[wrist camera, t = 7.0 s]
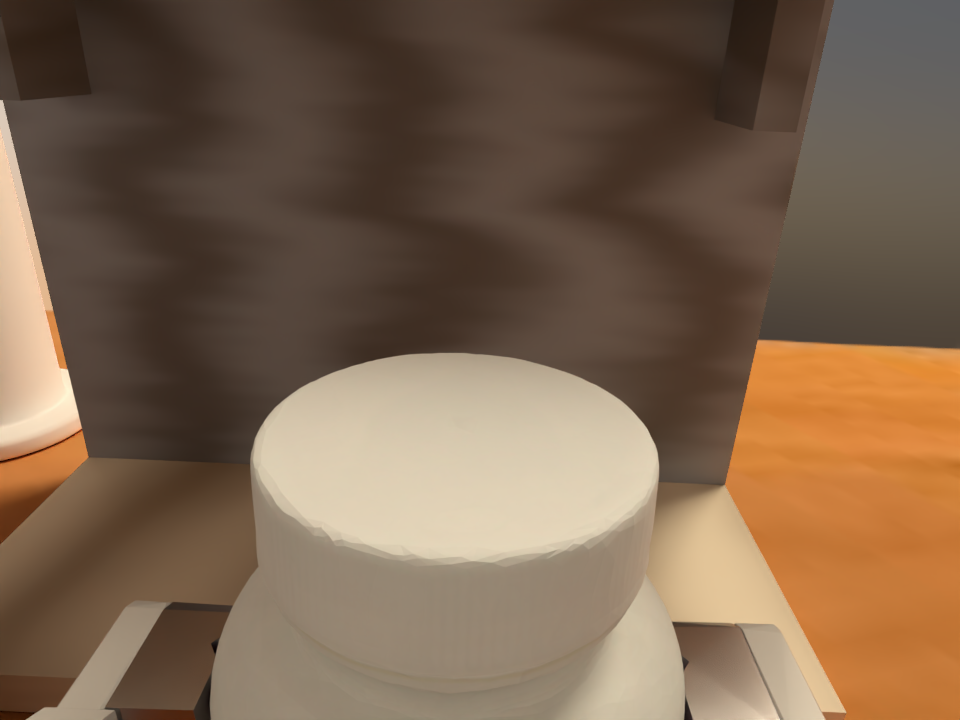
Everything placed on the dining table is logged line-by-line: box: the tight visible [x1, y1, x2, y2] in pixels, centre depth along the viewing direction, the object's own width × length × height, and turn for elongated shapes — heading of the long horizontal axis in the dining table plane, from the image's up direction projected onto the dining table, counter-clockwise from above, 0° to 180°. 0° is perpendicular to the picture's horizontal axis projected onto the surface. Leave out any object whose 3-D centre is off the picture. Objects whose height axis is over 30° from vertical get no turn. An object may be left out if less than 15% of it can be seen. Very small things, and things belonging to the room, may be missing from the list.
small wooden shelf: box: [0, 0, 846, 720], centre depth 16 cm, size 22×10×20 cm, turn 89°
